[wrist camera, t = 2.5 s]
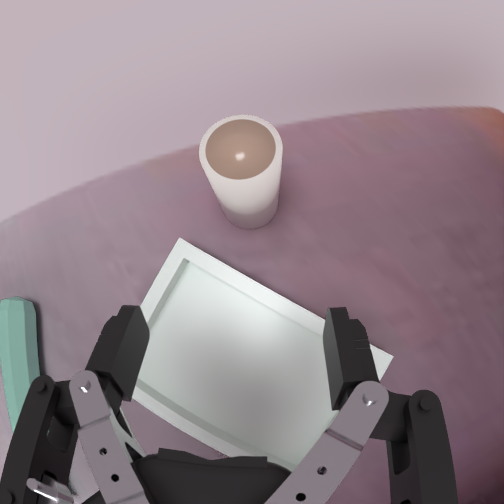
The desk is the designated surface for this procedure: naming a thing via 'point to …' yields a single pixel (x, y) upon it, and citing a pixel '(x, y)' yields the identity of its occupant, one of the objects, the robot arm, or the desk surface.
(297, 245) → the desk surface
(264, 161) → the cup
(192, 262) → the tray
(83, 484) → the desk surface
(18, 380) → the green faceted rod
